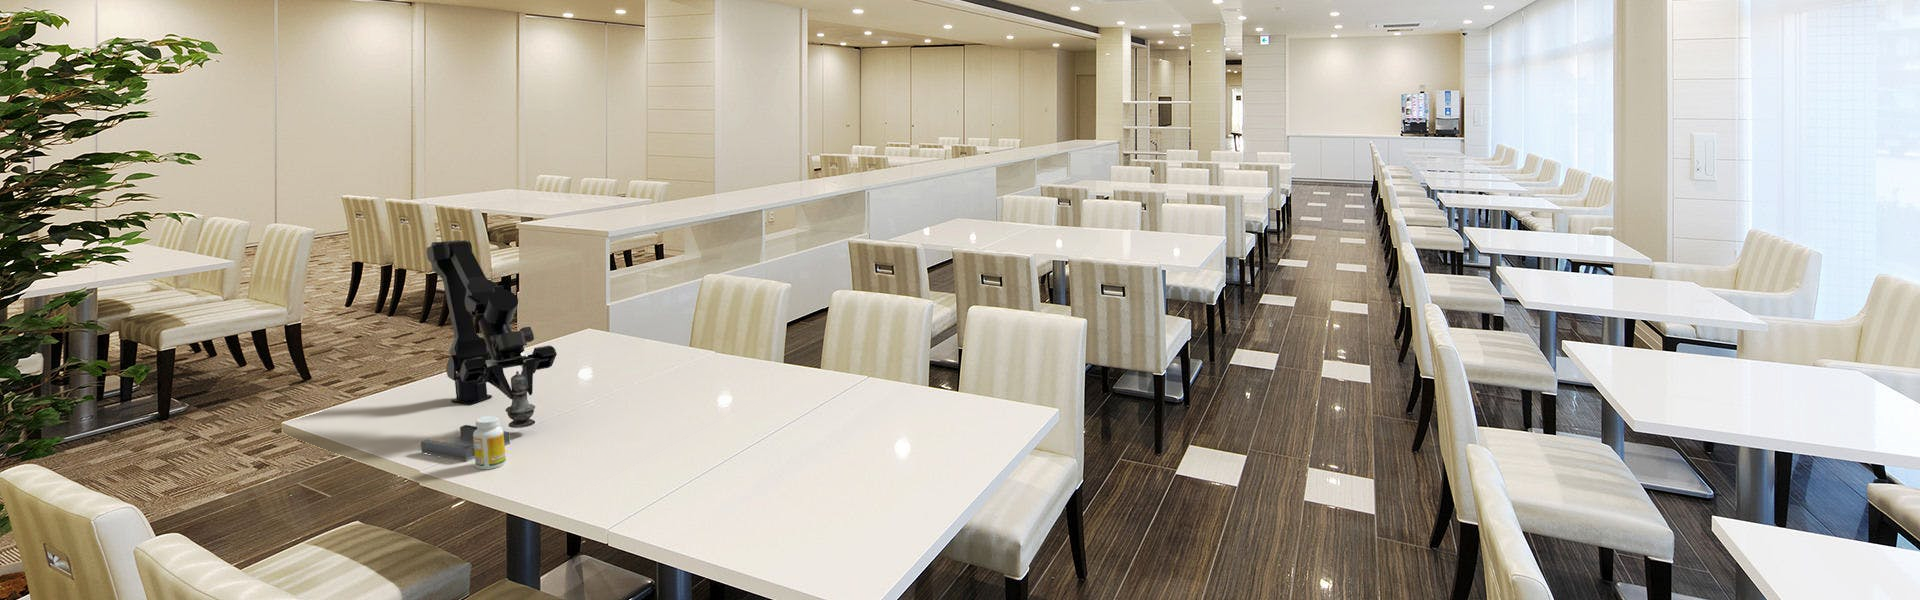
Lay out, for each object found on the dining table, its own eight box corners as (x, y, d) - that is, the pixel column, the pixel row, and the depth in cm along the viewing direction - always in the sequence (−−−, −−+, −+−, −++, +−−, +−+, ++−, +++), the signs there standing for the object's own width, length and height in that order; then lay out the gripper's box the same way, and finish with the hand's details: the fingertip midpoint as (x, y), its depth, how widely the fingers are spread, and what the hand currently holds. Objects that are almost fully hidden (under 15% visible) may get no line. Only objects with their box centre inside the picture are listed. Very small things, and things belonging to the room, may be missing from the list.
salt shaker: (524, 429, 195) (520, 375, 192) (500, 427, 196) (495, 373, 193) (542, 420, 200) (538, 368, 198) (518, 418, 201) (514, 366, 199)
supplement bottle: (472, 470, 178) (467, 424, 176) (481, 460, 183) (476, 415, 181) (501, 469, 179) (497, 422, 177) (509, 459, 184) (505, 414, 182)
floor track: (421, 453, 187) (420, 441, 186) (466, 436, 197) (465, 424, 196) (466, 461, 183) (465, 449, 182) (509, 443, 193) (508, 431, 192)
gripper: (459, 322, 189) (482, 385, 184) (550, 310, 202) (574, 368, 197) (450, 351, 196) (472, 412, 191) (539, 337, 209) (562, 394, 204)
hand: (521, 396), depth 196 cm, fingers closed on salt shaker, 4 cm apart
